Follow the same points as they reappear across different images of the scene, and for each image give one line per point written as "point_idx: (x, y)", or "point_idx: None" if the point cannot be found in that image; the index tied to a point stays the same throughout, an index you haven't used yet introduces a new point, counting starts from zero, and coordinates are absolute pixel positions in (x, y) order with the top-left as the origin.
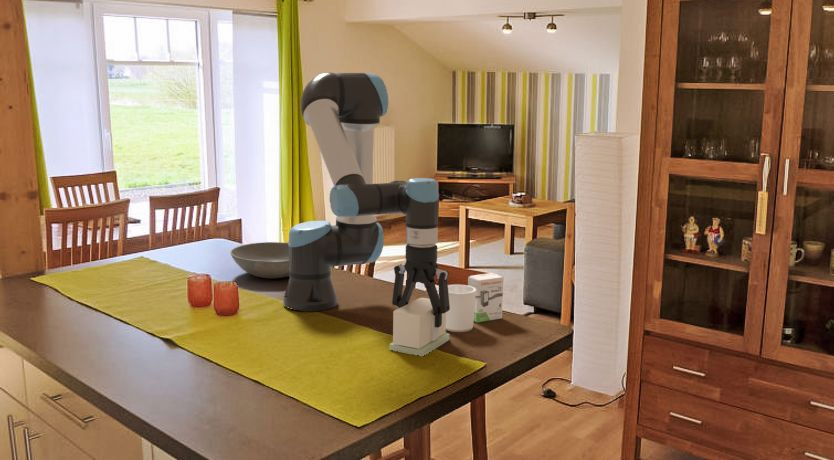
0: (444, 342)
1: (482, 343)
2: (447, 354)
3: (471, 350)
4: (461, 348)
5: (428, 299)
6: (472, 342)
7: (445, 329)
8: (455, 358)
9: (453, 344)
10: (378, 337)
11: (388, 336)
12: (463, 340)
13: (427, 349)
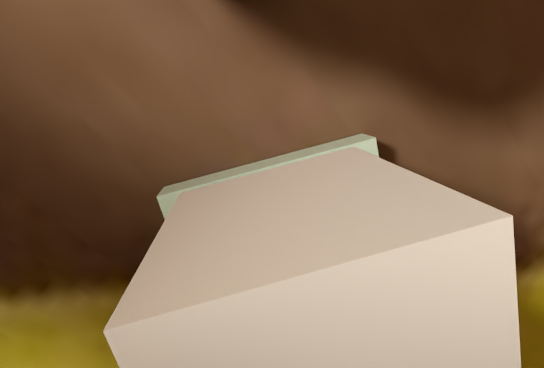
0: None
1: (533, 47)
2: None
3: (532, 177)
4: (480, 189)
5: (260, 324)
6: (482, 74)
7: (360, 151)
8: (519, 300)
9: (419, 173)
10: (71, 362)
11: (91, 319)
12: (426, 82)
13: None
